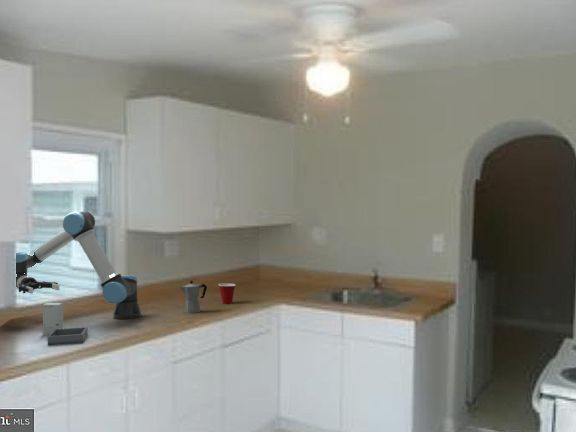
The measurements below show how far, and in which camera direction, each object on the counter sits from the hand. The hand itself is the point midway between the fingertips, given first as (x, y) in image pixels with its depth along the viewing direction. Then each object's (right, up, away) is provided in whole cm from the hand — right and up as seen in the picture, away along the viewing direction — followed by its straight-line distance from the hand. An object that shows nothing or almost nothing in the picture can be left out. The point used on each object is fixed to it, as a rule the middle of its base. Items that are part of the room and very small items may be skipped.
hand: (45, 289), depth 292 cm
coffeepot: (+69, -18, +40) cm, 81 cm away
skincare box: (+7, -21, -6) cm, 23 cm away
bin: (+20, -21, -22) cm, 36 cm away
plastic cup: (+85, -17, +63) cm, 108 cm away
